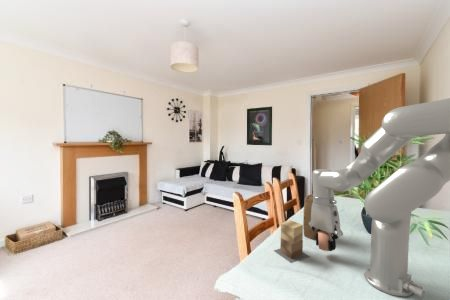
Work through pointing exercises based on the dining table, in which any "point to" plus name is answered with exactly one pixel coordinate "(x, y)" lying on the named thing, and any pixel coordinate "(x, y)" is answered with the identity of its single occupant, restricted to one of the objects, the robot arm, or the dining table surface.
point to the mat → (290, 258)
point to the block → (308, 218)
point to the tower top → (291, 231)
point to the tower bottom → (292, 248)
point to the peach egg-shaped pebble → (323, 240)
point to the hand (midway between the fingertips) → (325, 246)
